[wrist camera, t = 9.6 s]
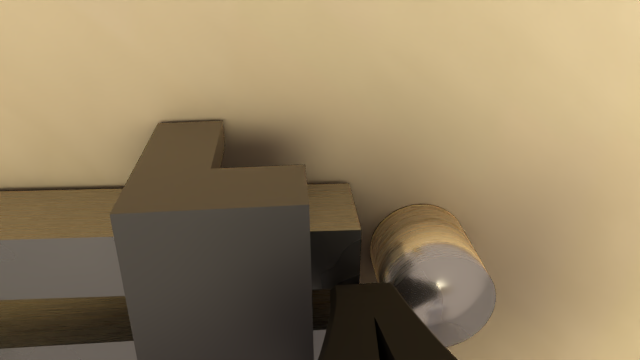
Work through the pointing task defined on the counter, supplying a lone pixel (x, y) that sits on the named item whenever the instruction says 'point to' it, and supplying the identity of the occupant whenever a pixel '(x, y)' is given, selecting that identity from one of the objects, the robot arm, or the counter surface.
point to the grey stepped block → (214, 252)
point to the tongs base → (389, 265)
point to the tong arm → (100, 251)
